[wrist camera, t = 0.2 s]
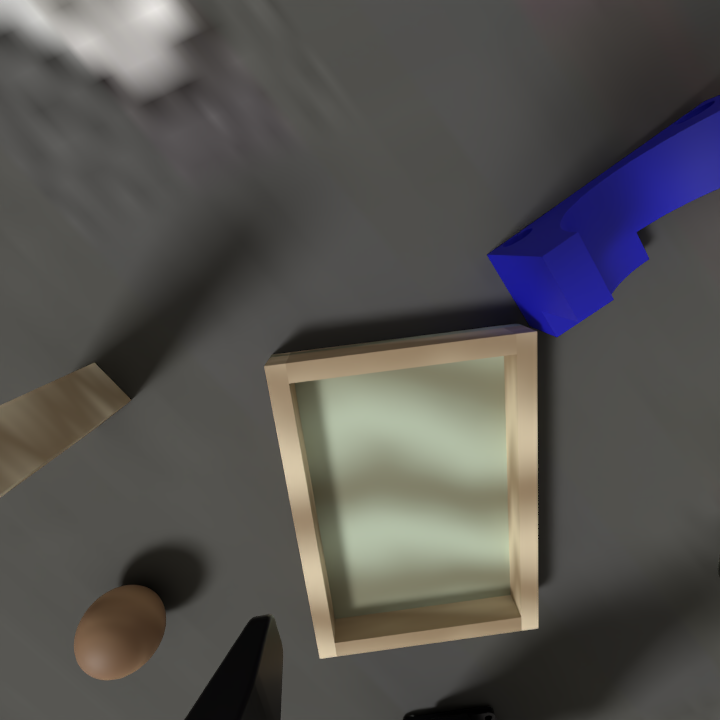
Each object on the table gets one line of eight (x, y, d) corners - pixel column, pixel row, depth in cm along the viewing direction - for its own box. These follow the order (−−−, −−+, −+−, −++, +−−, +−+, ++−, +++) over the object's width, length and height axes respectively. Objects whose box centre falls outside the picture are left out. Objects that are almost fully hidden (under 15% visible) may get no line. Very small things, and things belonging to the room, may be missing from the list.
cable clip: (528, 325, 22) (596, 353, 16) (485, 254, 21) (542, 256, 15) (735, 186, 20) (891, 161, 15) (700, 102, 19) (855, 39, 13)
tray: (522, 597, 26) (538, 628, 24) (321, 625, 26) (319, 658, 24) (517, 323, 21) (537, 331, 19) (271, 354, 21) (264, 366, 19)
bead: (185, 620, 25) (154, 695, 21) (114, 630, 25) (69, 707, 21) (168, 562, 24) (131, 629, 20) (94, 572, 24) (42, 641, 20)
